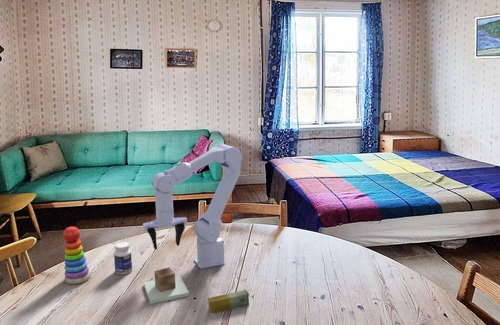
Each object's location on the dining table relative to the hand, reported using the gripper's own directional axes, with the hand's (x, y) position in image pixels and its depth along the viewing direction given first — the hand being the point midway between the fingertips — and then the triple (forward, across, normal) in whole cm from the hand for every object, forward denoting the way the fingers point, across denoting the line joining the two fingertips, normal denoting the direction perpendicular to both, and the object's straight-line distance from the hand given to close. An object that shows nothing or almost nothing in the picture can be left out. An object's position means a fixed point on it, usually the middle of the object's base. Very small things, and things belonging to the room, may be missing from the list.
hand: (166, 246), depth 141 cm
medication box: (+10, -12, +29) cm, 33 cm away
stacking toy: (+10, +29, -8) cm, 32 cm away
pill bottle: (+10, +14, -8) cm, 19 cm away
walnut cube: (+9, +3, +11) cm, 15 cm away
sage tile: (+10, +3, +12) cm, 16 cm away
